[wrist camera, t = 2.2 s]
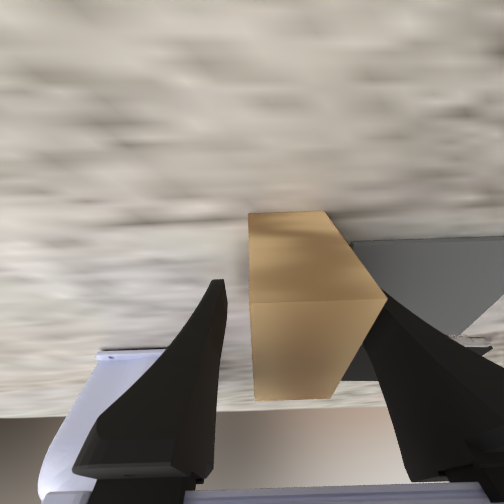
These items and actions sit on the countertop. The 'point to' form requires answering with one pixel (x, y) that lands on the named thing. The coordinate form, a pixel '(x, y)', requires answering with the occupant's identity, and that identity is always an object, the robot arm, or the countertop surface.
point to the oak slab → (305, 305)
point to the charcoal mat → (438, 276)
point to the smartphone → (365, 372)
